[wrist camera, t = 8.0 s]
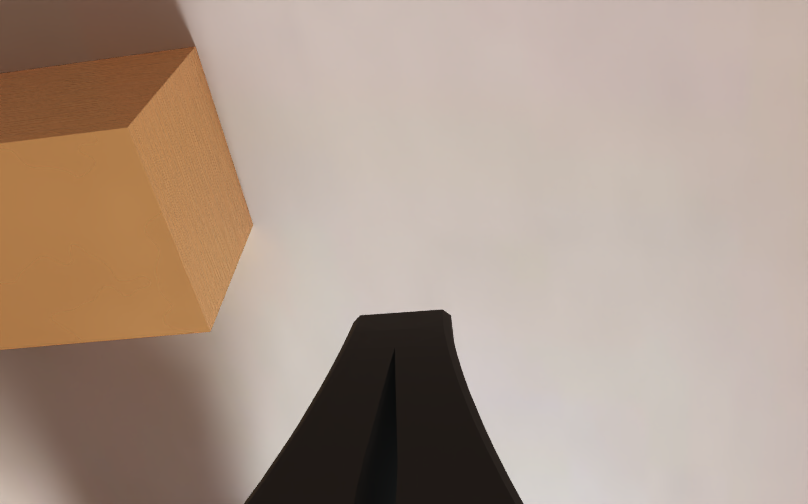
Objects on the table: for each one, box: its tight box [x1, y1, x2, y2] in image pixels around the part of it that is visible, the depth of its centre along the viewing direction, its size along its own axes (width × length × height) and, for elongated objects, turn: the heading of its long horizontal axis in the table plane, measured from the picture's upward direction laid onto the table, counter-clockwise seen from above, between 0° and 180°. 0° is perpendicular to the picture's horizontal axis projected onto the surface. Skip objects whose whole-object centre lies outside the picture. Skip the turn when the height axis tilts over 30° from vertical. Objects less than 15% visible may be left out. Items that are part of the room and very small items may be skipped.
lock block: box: [0, 47, 253, 350], centre depth 16 cm, size 6×5×4 cm
